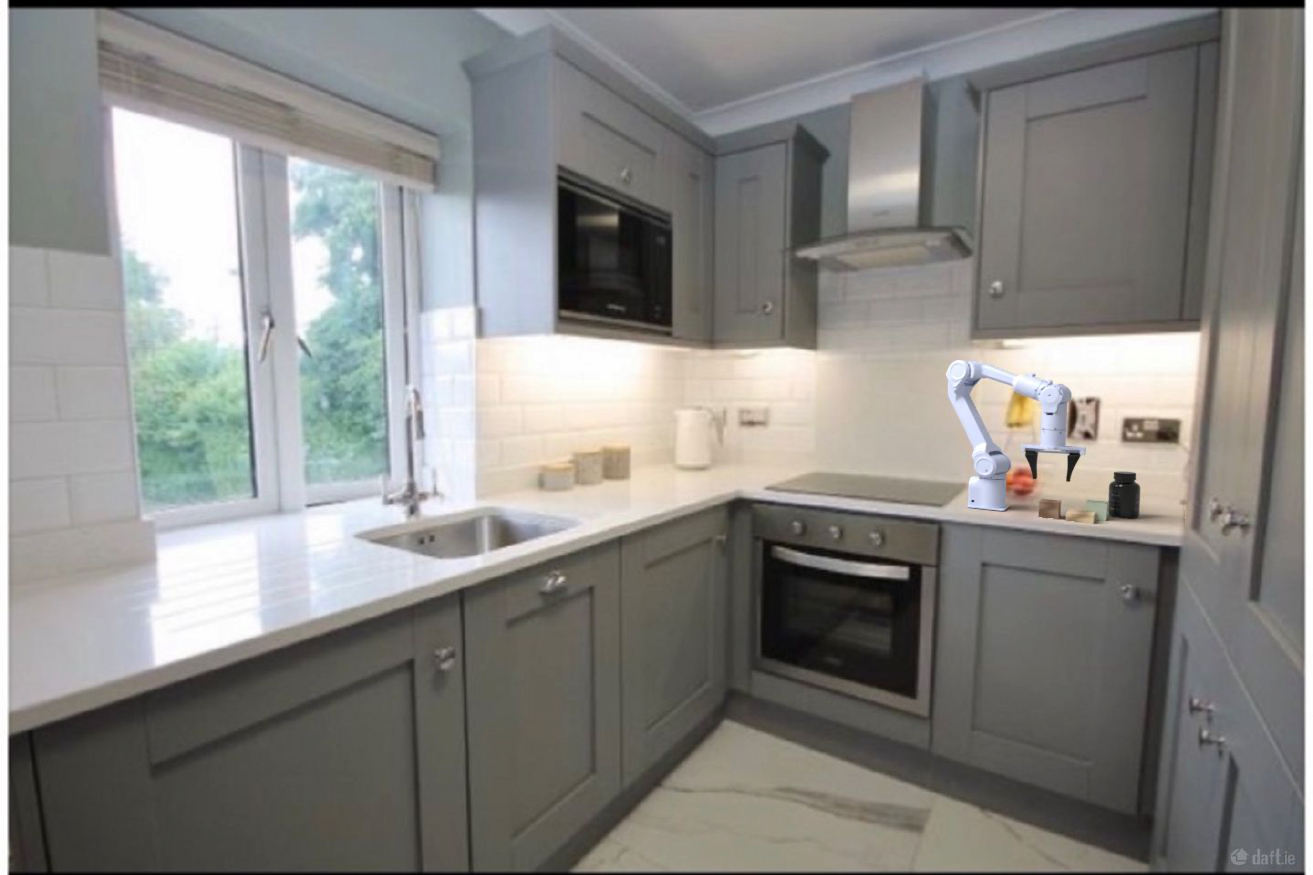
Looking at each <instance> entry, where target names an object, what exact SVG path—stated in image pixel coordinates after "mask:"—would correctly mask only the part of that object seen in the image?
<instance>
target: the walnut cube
mask: <svg viewBox="0 0 1313 875" xmlns="http://www.w3.org/2000/svg"><path fill="white" fill-rule="evenodd" d="M1061 510H1062V500H1060V499H1049V498H1041V499H1040V500H1039V501H1038V518H1039V517H1042V519H1048V518H1053V519H1052V520H1059V519H1060V518H1061V512H1062V511H1061ZM1059 517H1060V518H1059ZM1058 518H1059V519H1058Z"/></svg>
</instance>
